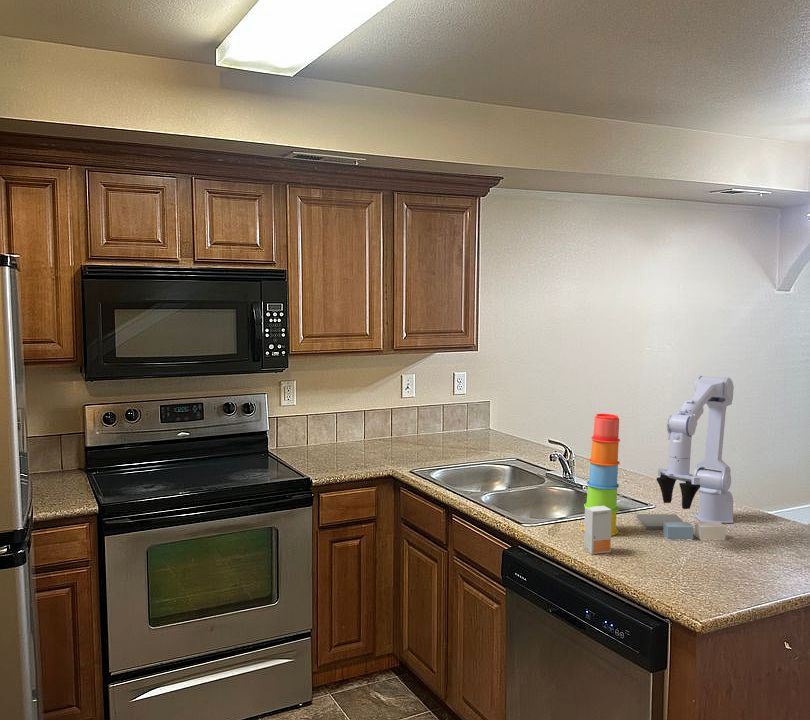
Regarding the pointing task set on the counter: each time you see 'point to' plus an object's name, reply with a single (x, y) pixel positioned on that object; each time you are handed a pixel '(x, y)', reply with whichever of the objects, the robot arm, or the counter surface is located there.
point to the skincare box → (597, 529)
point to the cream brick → (710, 530)
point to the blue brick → (677, 530)
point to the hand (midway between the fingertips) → (676, 505)
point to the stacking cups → (604, 466)
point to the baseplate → (656, 520)
